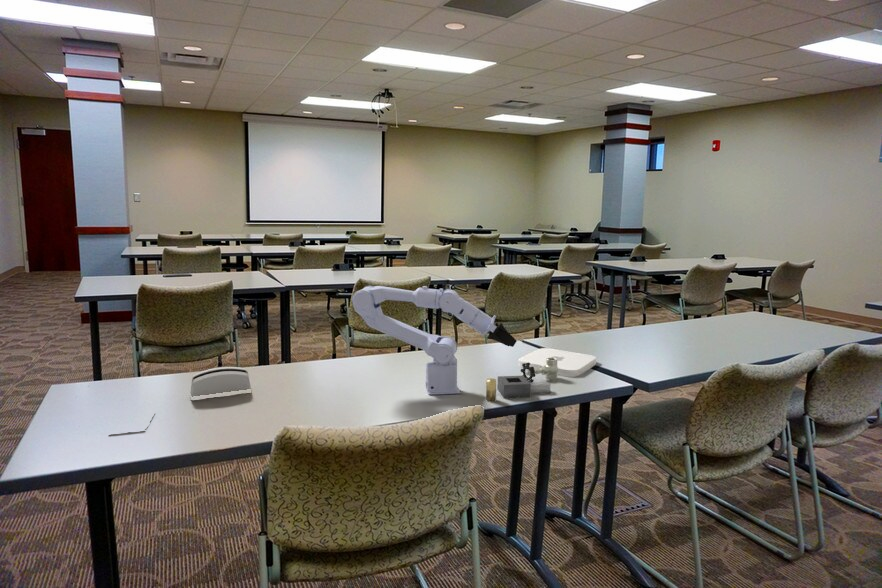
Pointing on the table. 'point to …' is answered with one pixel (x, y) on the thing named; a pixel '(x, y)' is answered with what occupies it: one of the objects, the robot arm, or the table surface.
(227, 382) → the grey rounded block
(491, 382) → the brass pin
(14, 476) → the table surface
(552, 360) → the valve
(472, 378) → the table surface
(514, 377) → the grey socket block
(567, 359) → the computer
